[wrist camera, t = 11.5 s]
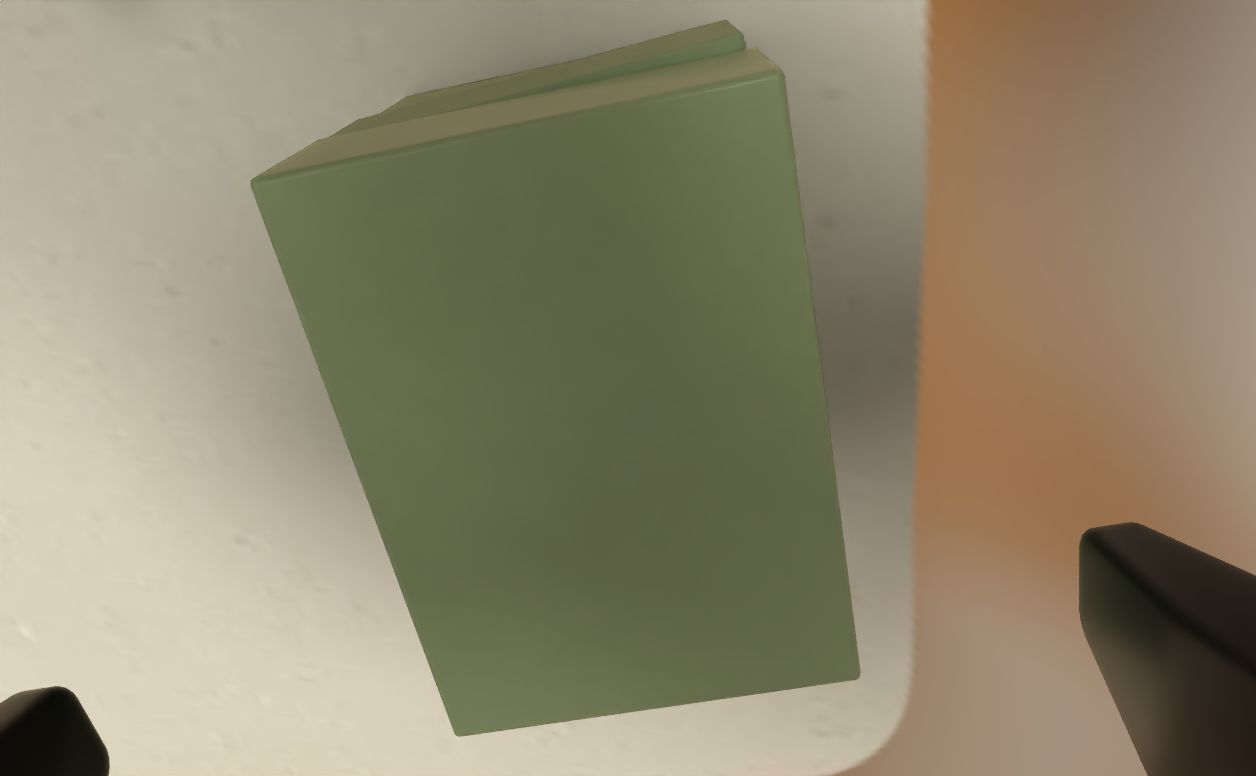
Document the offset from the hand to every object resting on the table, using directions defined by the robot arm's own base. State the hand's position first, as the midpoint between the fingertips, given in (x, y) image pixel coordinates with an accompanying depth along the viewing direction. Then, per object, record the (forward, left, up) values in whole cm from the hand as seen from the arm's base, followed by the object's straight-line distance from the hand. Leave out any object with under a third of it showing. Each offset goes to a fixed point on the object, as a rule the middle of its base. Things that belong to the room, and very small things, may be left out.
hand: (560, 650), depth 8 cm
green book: (0, -1, -7) cm, 7 cm away
